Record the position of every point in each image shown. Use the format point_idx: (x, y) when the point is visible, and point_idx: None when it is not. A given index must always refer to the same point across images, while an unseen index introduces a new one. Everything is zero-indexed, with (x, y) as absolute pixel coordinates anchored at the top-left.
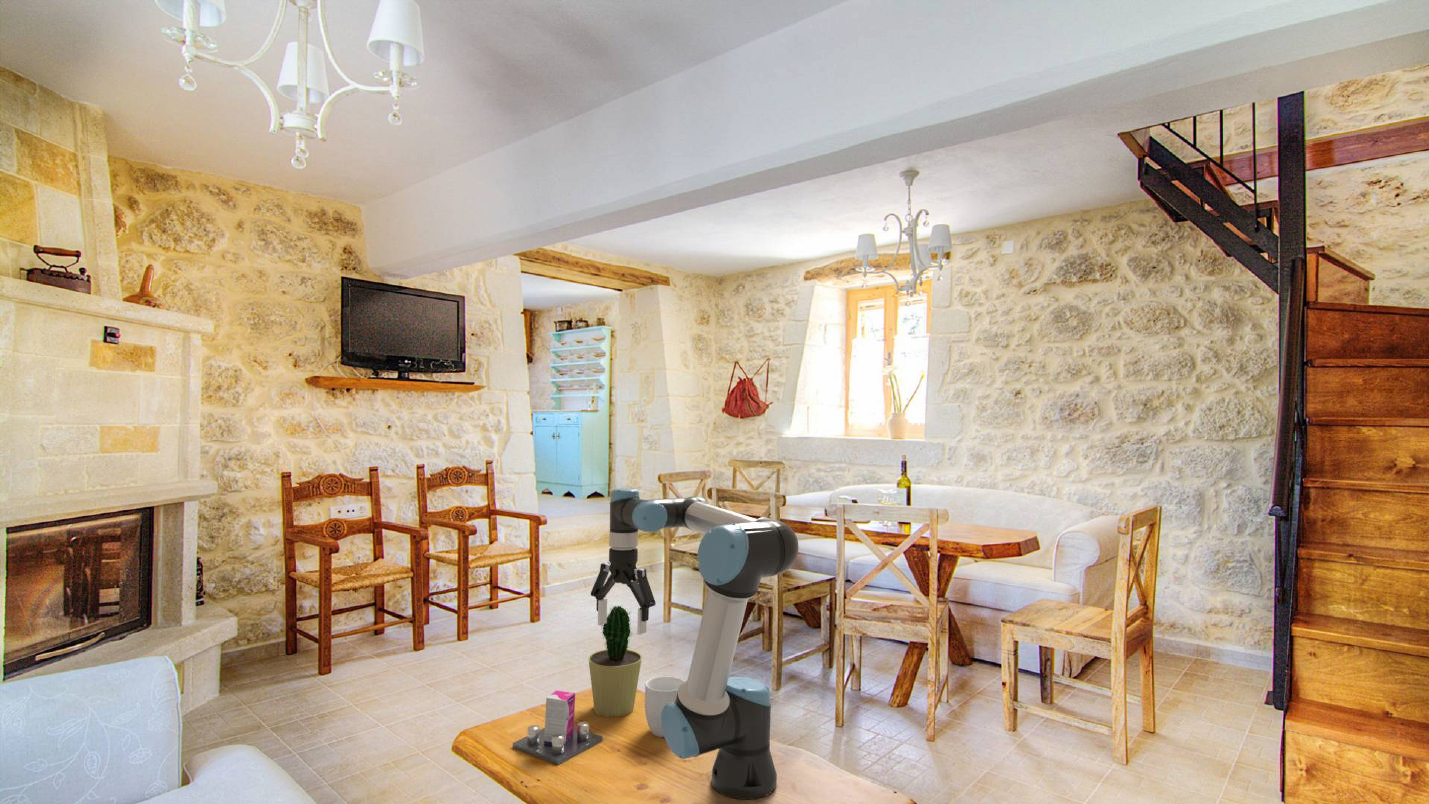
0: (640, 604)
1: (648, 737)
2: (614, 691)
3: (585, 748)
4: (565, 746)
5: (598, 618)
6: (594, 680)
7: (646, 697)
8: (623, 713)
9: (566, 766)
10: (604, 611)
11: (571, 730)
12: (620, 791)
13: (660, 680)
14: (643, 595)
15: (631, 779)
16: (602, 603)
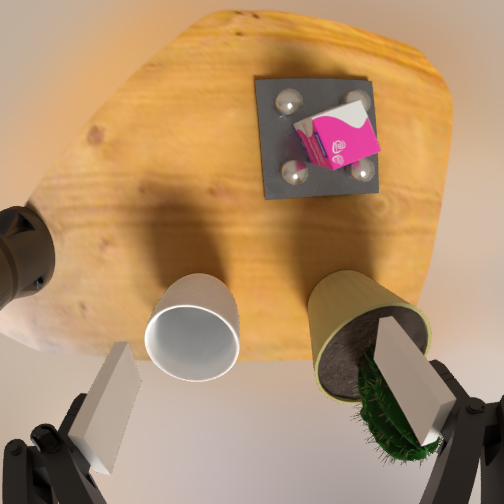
0: (60, 459)
1: (209, 263)
2: (328, 299)
3: (261, 151)
4: (289, 125)
5: (402, 334)
6: (380, 289)
7: (211, 296)
8: (310, 297)
9: (238, 88)
10: (400, 384)
11: (308, 153)
12: (108, 101)
13: (229, 359)
14: (21, 502)
15: (120, 137)
16: (425, 404)
